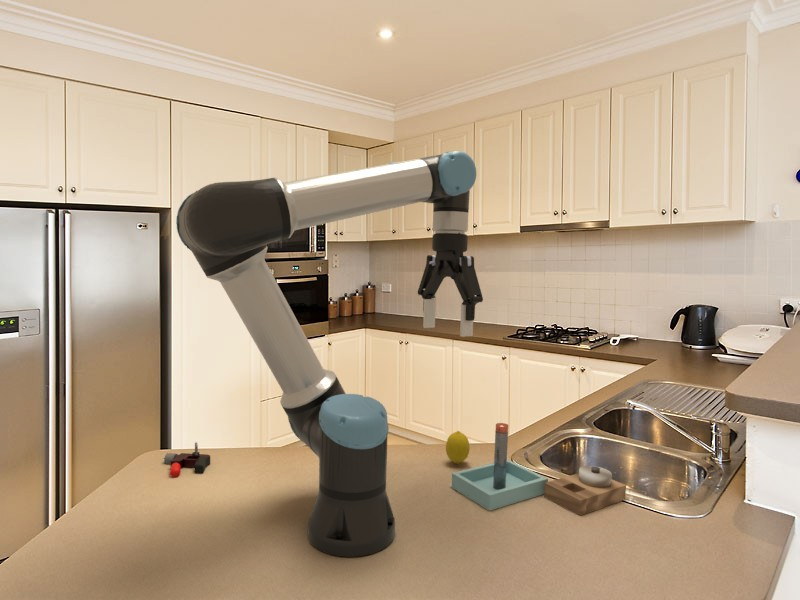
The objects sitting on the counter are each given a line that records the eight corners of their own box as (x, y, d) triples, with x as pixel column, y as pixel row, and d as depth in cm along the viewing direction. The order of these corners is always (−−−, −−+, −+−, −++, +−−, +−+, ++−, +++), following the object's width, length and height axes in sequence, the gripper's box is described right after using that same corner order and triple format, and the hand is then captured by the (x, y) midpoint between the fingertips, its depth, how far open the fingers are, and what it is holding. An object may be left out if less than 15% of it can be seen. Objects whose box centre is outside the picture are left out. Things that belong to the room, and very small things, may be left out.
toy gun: (166, 460, 125) (165, 440, 124) (215, 463, 124) (215, 443, 123) (142, 477, 115) (142, 456, 115) (196, 481, 114) (196, 459, 114)
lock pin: (498, 491, 111) (501, 427, 110) (490, 486, 113) (493, 424, 112) (508, 488, 112) (511, 425, 111) (499, 483, 114) (502, 422, 113)
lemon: (467, 469, 123) (469, 436, 122) (444, 467, 124) (445, 433, 123) (469, 460, 128) (470, 428, 128) (446, 458, 129) (447, 426, 129)
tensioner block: (579, 515, 102) (581, 486, 102) (544, 497, 110) (545, 469, 109) (625, 499, 110) (626, 472, 109) (588, 483, 117) (590, 457, 117)
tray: (489, 510, 103) (490, 495, 103) (451, 487, 113) (451, 473, 113) (547, 493, 112) (547, 478, 112) (507, 472, 122) (507, 459, 122)
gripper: (503, 232, 105) (498, 339, 107) (431, 234, 126) (428, 323, 128) (473, 230, 101) (469, 341, 103) (404, 233, 123) (402, 325, 124)
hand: (446, 331), depth 116 cm, fingers open, 13 cm apart
